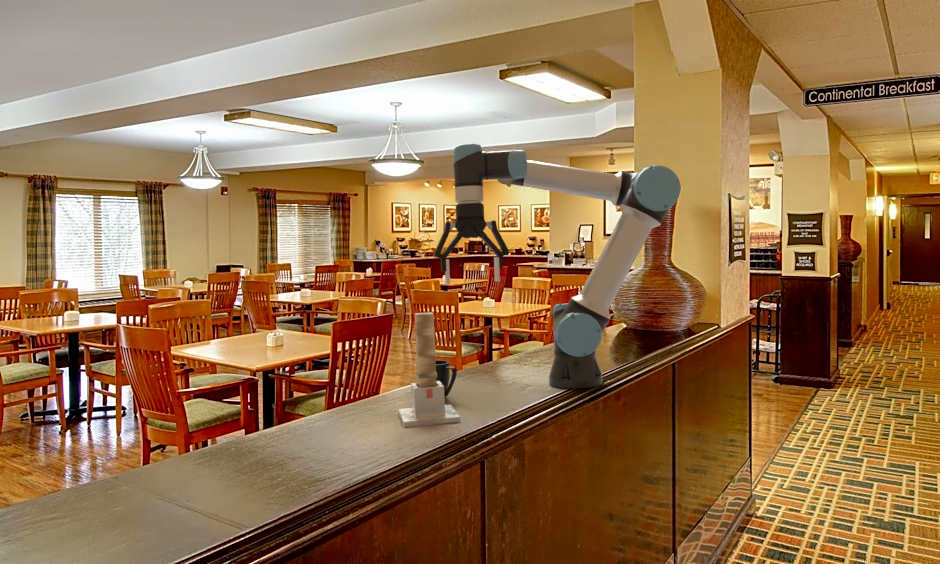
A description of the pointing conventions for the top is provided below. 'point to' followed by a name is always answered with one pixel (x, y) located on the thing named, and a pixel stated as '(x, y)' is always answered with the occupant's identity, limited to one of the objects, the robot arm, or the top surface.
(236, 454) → the top surface
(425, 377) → the post
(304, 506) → the top surface
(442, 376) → the mug
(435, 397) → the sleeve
